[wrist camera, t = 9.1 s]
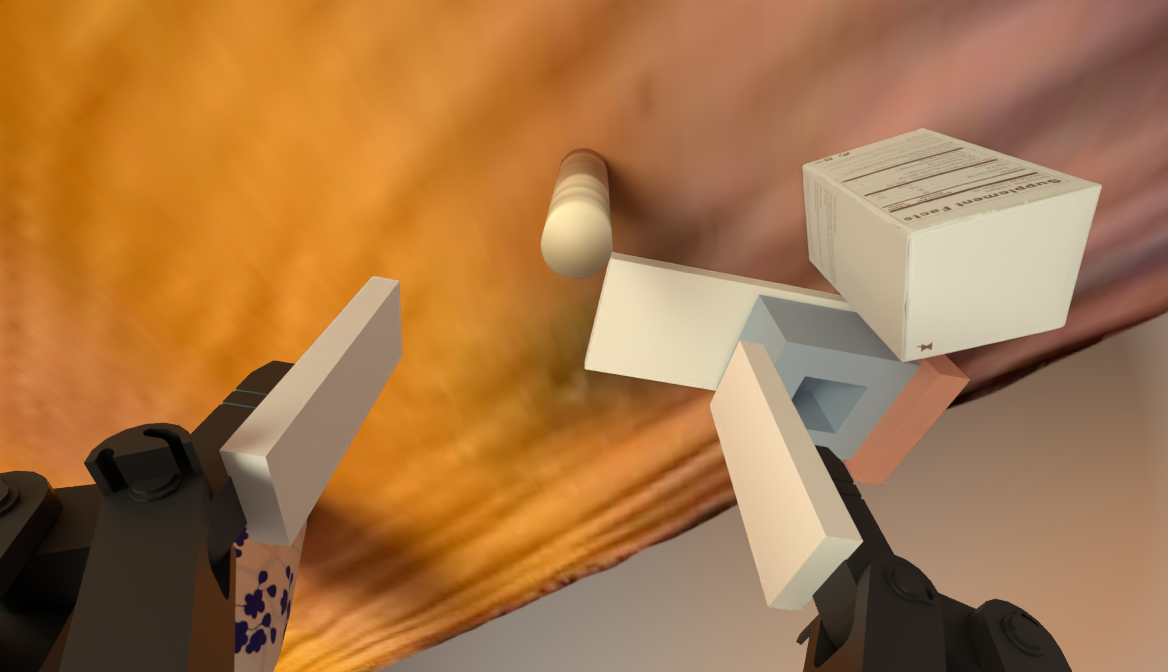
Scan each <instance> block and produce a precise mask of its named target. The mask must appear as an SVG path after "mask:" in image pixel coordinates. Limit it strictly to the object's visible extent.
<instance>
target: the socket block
mask: <svg viewBox="0 0 1168 672" xmlns="http://www.w3.org/2000/svg"><path fill="white" fill-rule="evenodd" d="M739 341H746V342H751V343H757V344H763V345H764V347H765V349H766V351H767V353H768V355H769V357H770V359H771V361H772V363H773V365H774V367H775V369H776V371H777V373H778V375H779V377H780V379H781V381H782V383H783V385H784V387H785V389H786V391H787V393H788V395H789V396H790V398H791V400H792V402H793V404H794V406H795V408H796V410H797V412H798V414H799V416H800V418H801V420H802V422H803V424H804V426H805V428H806V430H807V432H808V434H809V436H810V438H811V440H812V442H813V444H814V445H818V446H824V447H828V448H829V449H830V450H831V451H832V452H833V453H834V454H835V455H836V456H837V457H838V458H839V459H845V460H850V459H851V458H852V457H853V455H854V454H855V453H856V451H857V450H858V449H859V447H860V446H861V445H862V443H863V442H864V441H865V439H866V438H867V437H868V435H869V434H870V433H871V431H872V430H873V429H874V427H875V426H876V425H877V424H878V422H879V421H880V420H881V418H882V417H883V416H884V414H885V413H886V412H887V410H888V409H889V408H890V406H891V405H892V404H893V402H894V401H895V400H896V398H897V397H898V396H899V394H900V393H901V392H902V390H903V389H904V388H905V386H906V385H907V384H908V382H909V381H910V380H911V378H912V377H913V376H914V374H915V373H916V372H917V370H918V369H919V368H920V366H921V365H920V364H919V363H918V362H917V361H916V360H911V361H907V362H901V361H900V359H899V358H898V357H897V356H896V355H895V354H894V353H893V352H892V351H891V350H890V348H889V347H888V346H887V345H886V344H885V343H884V342H883V341H882V340H881V338H880V337H879V336H878V335H877V334H876V333H875V332H874V331H873V330H872V329H871V327H870V326H869V325H868V324H867V323H866V322H865V321H864V320H863V319H862V317H861V316H860V315H859V314H858V313H856V312H851V311H845V310H840V309H834V308H829V307H824V306H818V305H813V304H807V303H802V302H797V301H791V300H786V299H781V298H775V297H770V296H764V295H758V298H757V300H756V302H755V304H754V306H753V308H752V311H751V313H750V315H749V317H748V319H747V322H746V324H745V326H744V328H743V330H742V333H741V335H740V337H739V339H738V341H737V344H736V346H735V348H734V350H733V352H732V354H731V357H730V359H729V361H728V363H727V365H726V368H725V370H724V372H723V374H722V376H721V379H720V381H719V383H718V385H717V387H716V389H718V386H719V384H720V382H721V380H722V378H723V375H724V373H725V371H726V369H727V367H728V365H729V362H730V360H731V358H732V356H733V354H734V351H735V349H736V347H737V345H738V343H739Z"/></svg>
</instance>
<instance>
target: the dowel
mask: <svg viewBox="0 0 1168 672" xmlns="http://www.w3.org/2000/svg"><path fill="white" fill-rule="evenodd" d="M612 248H613V244H612V229H611V215H610V200H609V185H608V171H607V166H606V163H605V161H604V160H603V158H602V157H601V156H600V155H599V154H598V153H596V152H595V151H592V150H590V149H577V150H574V151H572V152H570V153H569V154H568V155H566V157H565V158H564V159H563V161H562V163H561V165H560V169H559V173H558V176H557V180H556V184H555V188H554V192H553V196H552V200H551V204H550V208H549V212H548V216H547V220H546V224H545V228H544V232H543V236H542V240H541V250H542V254H543V257H544V259H545V261H546V263H547V264H548V266H549V267H550V268H551V269H552V270H553V271H554V272H556V273H557V274H559V275H561V276H563V277H566V278H570V279H585V278H589V277H592V276H594V275H596V274H597V273H599V272H600V271H601V270H602V269H604V267H605V266H606V265H607V263H608V262H609V260H610V258H611V255H612Z"/></svg>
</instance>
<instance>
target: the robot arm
mask: <svg viewBox="0 0 1168 672" xmlns="http://www.w3.org/2000/svg"><path fill="white" fill-rule="evenodd" d="M401 357H402V337H401V308H400V281H399V280H393V279H388V278H382V277H376V276H372V277H371V278H370V280H369V281H368V282H367V283H366V284H365V285H364V286H363V287H362V289H361V290H360V291H359V292H358V293H357V294H356V295H355V297H354V298H353V299H352V300H351V301H350V302H349V303H348V304H347V306H346V307H345V308H344V309H343V310H342V311H341V312H340V314H339V315H338V316H337V317H336V318H335V319H334V320H333V322H332V323H331V324H330V325H329V326H328V327H327V328H326V329H325V331H324V332H323V333H322V334H321V335H320V336H319V337H318V339H317V340H316V341H315V342H314V343H313V344H312V345H311V347H310V348H309V349H308V350H307V351H306V352H305V353H304V354H303V356H302V357H301V358H300V359H299V360H298V361H297V362H296V364H293V363H286V362H280V361H272V362H270V363H268V364H266V365H264V366H263V367H261V368H259V369H257V370H255V371H253V372H251V373H250V374H249V375H248V376H247V377H246V378H245V379H244V380H243V381H242V383H241V384H240V385H239V386H238V387H237V388H236V391H235V392H232V393H231V394H230V395H229V396H228V397H227V398H226V399H225V400H224V401H223V404H222V405H219V406H218V407H217V408H216V409H215V410H214V411H213V412H212V413H211V414H210V415H209V416H208V417H207V418H206V419H205V420H204V421H203V422H202V423H201V424H200V425H199V426H198V427H197V428H196V429H195V430H194V431H193V432H192V433H191V434H189V432H188V431H186V430H185V429H184V428H182V427H181V426H179V425H174V424H169V423H154V424H144V425H141V426H137V427H133V428H130V429H126V430H124V431H122V432H120V433H118V434H116V435H113V436H111V437H109V438H107V439H106V440H105V441H103V442H102V443H101V444H99V445H98V446H97V447H96V448H94V449H93V450H92V451H91V453H90V454H89V456H88V457H87V459H86V461H85V462H84V464H85V466H86V467H87V469H88V471H89V472H90V474H91V476H92V477H93V479H94V481H95V482H96V484H92V485H83V486H74V487H65V488H56V489H53V488H52V486H51V485H50V484H49V482H48V481H47V479H46V478H45V477H43V476H41V475H39V474H37V473H35V472H29V471H12V472H6V473H0V672H234V660H235V603H236V552H235V548H234V545H233V543H234V542H235V541H236V539H237V538H238V536H239V535H240V533H241V532H242V531H243V529H244V528H245V526H246V527H247V530H248V532H249V535H250V538H251V541H252V542H258V543H266V544H274V545H282V546H290V547H291V545H292V543H293V542H294V540H295V538H296V536H297V535H298V533H299V531H300V530H301V528H302V526H303V524H304V523H305V521H306V519H307V518H308V516H309V514H310V512H311V511H312V509H313V507H314V506H315V504H316V502H317V500H318V499H319V497H320V495H321V494H322V492H323V490H324V488H325V487H326V485H327V483H328V482H329V480H330V478H331V476H332V475H333V473H334V471H335V470H336V468H337V466H338V465H339V463H340V461H341V459H342V458H343V456H344V454H345V453H346V451H347V449H348V447H349V446H350V444H351V442H352V441H353V439H354V437H355V435H356V434H357V432H358V430H359V429H360V427H361V425H362V423H363V422H364V420H365V418H366V417H367V415H368V413H369V411H370V410H371V408H372V406H373V405H374V403H375V401H376V399H377V398H378V396H379V394H380V393H381V391H382V389H383V387H384V386H385V384H386V382H387V381H388V379H389V377H390V375H391V374H392V372H393V370H394V369H395V367H396V365H397V363H398V362H399V360H400V358H401ZM710 408H711V412H712V415H713V419H714V422H715V426H716V429H717V432H718V436H719V439H720V443H721V446H722V450H723V453H724V457H725V460H726V463H727V467H728V470H729V474H730V477H731V481H732V484H733V488H734V491H735V494H736V498H737V501H738V505H739V508H740V512H741V515H742V518H743V522H744V526H745V529H746V532H747V536H748V539H749V543H750V546H751V550H752V553H753V556H754V560H755V563H756V567H757V570H758V573H759V577H760V581H761V584H762V588H763V591H764V594H765V597H766V601H767V605H768V607H773V608H780V609H788V610H796V611H801V609H802V608H803V607H804V606H805V605H806V604H807V603H808V602H809V601H810V600H811V599H812V598H814V601H815V604H816V607H817V609H818V612H819V615H818V616H817V617H816V618H815V619H814V620H813V621H812V622H811V623H810V624H809V625H808V626H807V627H806V628H805V629H804V630H803V631H802V633H801V634H800V635H799V637H798V639H797V641H796V642H798V643H799V644H800V645H801V644H802V643H803V642H804V641H805V640H806V639H807V638H808V637H809V636H810V637H809V642H808V648H807V654H806V659H805V664H804V670H803V672H1072V670H1071V668H1070V667H1069V664H1068V662H1067V660H1066V658H1065V657H1064V654H1063V653H1062V651H1061V649H1060V647H1059V646H1058V645H1057V643H1056V641H1055V640H1054V638H1053V637H1052V635H1051V634H1050V633H1049V632H1048V631H1047V630H1046V629H1045V628H1044V627H1043V626H1042V625H1041V624H1040V623H1039V622H1038V621H1037V620H1036V619H1035V618H1033V617H1032V616H1031V615H1029V614H1028V613H1027V612H1025V611H1024V610H1023V609H1021V608H1019V607H1017V606H1015V605H1013V604H1011V603H1009V602H1007V601H1003V600H998V599H993V600H990V601H986V602H985V603H984V604H982V605H981V606H980V607H978V608H977V609H975V608H973V607H970V606H968V605H965V604H963V603H961V602H959V601H956V600H954V599H951V598H949V597H947V596H945V595H942V594H940V593H938V592H937V590H936V589H935V587H934V585H933V584H932V582H931V581H930V580H929V579H928V578H927V576H926V575H924V573H923V572H922V571H921V570H920V569H919V568H917V567H916V566H914V565H913V564H912V563H910V562H909V561H907V560H906V559H903V558H901V557H899V556H896V555H894V553H893V552H892V550H891V548H890V546H889V544H888V543H887V541H886V539H885V537H884V535H883V534H882V532H881V530H880V528H879V526H878V524H877V523H876V521H875V519H874V517H873V516H872V514H871V512H870V510H869V508H868V506H867V505H866V503H865V501H864V500H863V499H861V494H860V492H859V490H858V488H857V487H856V485H854V484H853V479H852V478H851V476H850V474H849V472H848V470H847V469H846V467H845V465H844V464H843V462H841V460H840V459H839V458H838V457H837V456H836V455H835V454H834V453H833V452H832V451H831V450H830V449H829V448H828V447H824V446H818V445H814V444H813V442H812V440H811V438H810V436H809V434H808V432H807V430H806V428H805V426H804V424H803V422H802V420H801V418H800V416H799V414H798V412H797V410H796V408H795V406H794V404H793V402H792V400H791V398H790V396H789V395H788V393H787V391H786V389H785V387H784V385H783V383H782V381H781V379H780V377H779V375H778V373H777V371H776V369H775V367H774V365H773V363H772V361H771V359H770V357H769V355H768V353H767V351H766V349H765V347H764V345H763V344H757V343H751V342H746V341H739V343H738V345H737V347H736V349H735V351H734V354H733V356H732V358H731V360H730V362H729V365H728V367H727V369H726V371H725V373H724V375H723V378H722V380H721V382H720V384H719V386H718V389H717V391H716V393H715V395H714V397H713V399H712V402H711V404H710Z"/></svg>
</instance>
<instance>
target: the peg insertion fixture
mask: <svg viewBox="0 0 1168 672" xmlns="http://www.w3.org/2000/svg"><path fill="white" fill-rule="evenodd" d="M758 295H764V296H770V297H775V298H781V299H786V300H791V301H797V302H802V303H807V304H813V305H818V306H824V307H829V308H834V309H840V310H845V311H851V312H856V311H855V310H854V309H853V308H852V306H851V305H850V304H849V303H848V302H847V301H846V300H845V299H844V298H843V296H842V295H839V294H833V293H828V292H823V291H817V290H812V289H807V288H801V287H796V286H791V285H785V284H780V283H775V282H770V281H764V280H759V279H754V278H748V277H743V276H738V275H732V274H727V273H722V272H716V271H711V270H706V269H701V268H695V267H690V266H685V265H679V264H674V263H669V262H663V261H658V260H653V259H647V258H642V257H637V256H632V255H626V254H621V253H616V252H612V255H611V258H610V260H609V263H608V267H607V271H606V275H605V279H604V284H603V288H602V292H601V296H600V300H599V304H598V309H597V313H596V317H595V321H594V325H593V329H592V333H591V338H590V342H589V346H588V350H587V354H586V358H585V369H589V370H595V371H601V372H607V373H613V374H619V375H625V376H631V377H637V378H643V379H649V380H655V381H661V382H667V383H673V384H679V385H685V386H691V387H697V388H703V389H709V390H715V391H717V389H716V387H717V385H718V383H719V381H720V379H721V376H722V374H723V372H724V370H725V368H726V365H727V363H728V361H729V359H730V357H731V354H732V352H733V350H734V348H735V346H736V344H737V341H738V339H739V337H740V335H741V333H742V330H743V328H744V326H745V324H746V322H747V319H748V317H749V315H750V313H751V311H752V308H753V306H754V304H755V302H756V300H757V298H758ZM856 313H857V312H856ZM916 361H917V362H918V363H919V364H920V365H921V366H920V368H919V369H918V370H917V372H916V373H915V374H914V376H913V377H912V378H911V380H910V381H909V382H908V384H907V385H906V386H905V388H904V389H903V390H902V392H901V393H900V394H899V396H898V397H897V398H896V400H895V401H894V402H893V404H892V405H891V406H890V408H889V409H888V410H887V412H886V413H885V414H884V416H883V417H882V418H881V420H880V421H879V422H878V424H877V425H876V426H875V427H874V429H873V430H872V431H871V433H870V434H869V435H868V437H867V438H866V439H865V441H864V442H863V443H862V445H861V446H860V447H859V449H858V450H857V451H856V453H855V454H854V455H853V457H852V458H851V459H850V460H845V459H844V461H845V463H846V465H847V466H848V468H849V470H850V472H851V473H852V475H853V477H854V479H855V481H858V482H865V483H871V484H878V485H882V484H883V483H884V482H885V480H886V479H887V478H888V477H889V476H890V475H891V473H892V472H893V471H894V470H895V469H896V467H897V466H898V465H899V464H900V462H901V461H902V460H903V459H904V458H905V457H906V456H907V454H908V453H909V452H910V451H911V450H912V448H913V447H914V446H915V445H916V444H917V443H918V441H919V440H920V439H921V438H922V437H923V435H924V434H925V433H926V432H927V431H928V429H929V428H930V427H931V426H932V425H933V424H934V422H935V421H936V420H937V419H938V418H939V416H940V415H941V414H942V413H943V412H944V411H945V409H946V408H947V407H948V406H949V405H950V403H951V402H952V401H953V400H954V399H955V397H956V396H957V395H958V394H959V393H960V392H961V390H962V389H963V388H964V387H965V386H966V384H967V383H968V382H969V381H970V379H969V378H968V377H967V376H966V375H965V374H964V373H963V372H962V371H961V370H960V369H959V368H958V367H957V366H956V365H955V364H954V363H953V362H952V361H951V360H950V359H949V358H948V357H947V356H946V355H944V354H942V355H937V356H932V357H928V358H923V359H917V360H916Z"/></svg>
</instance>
